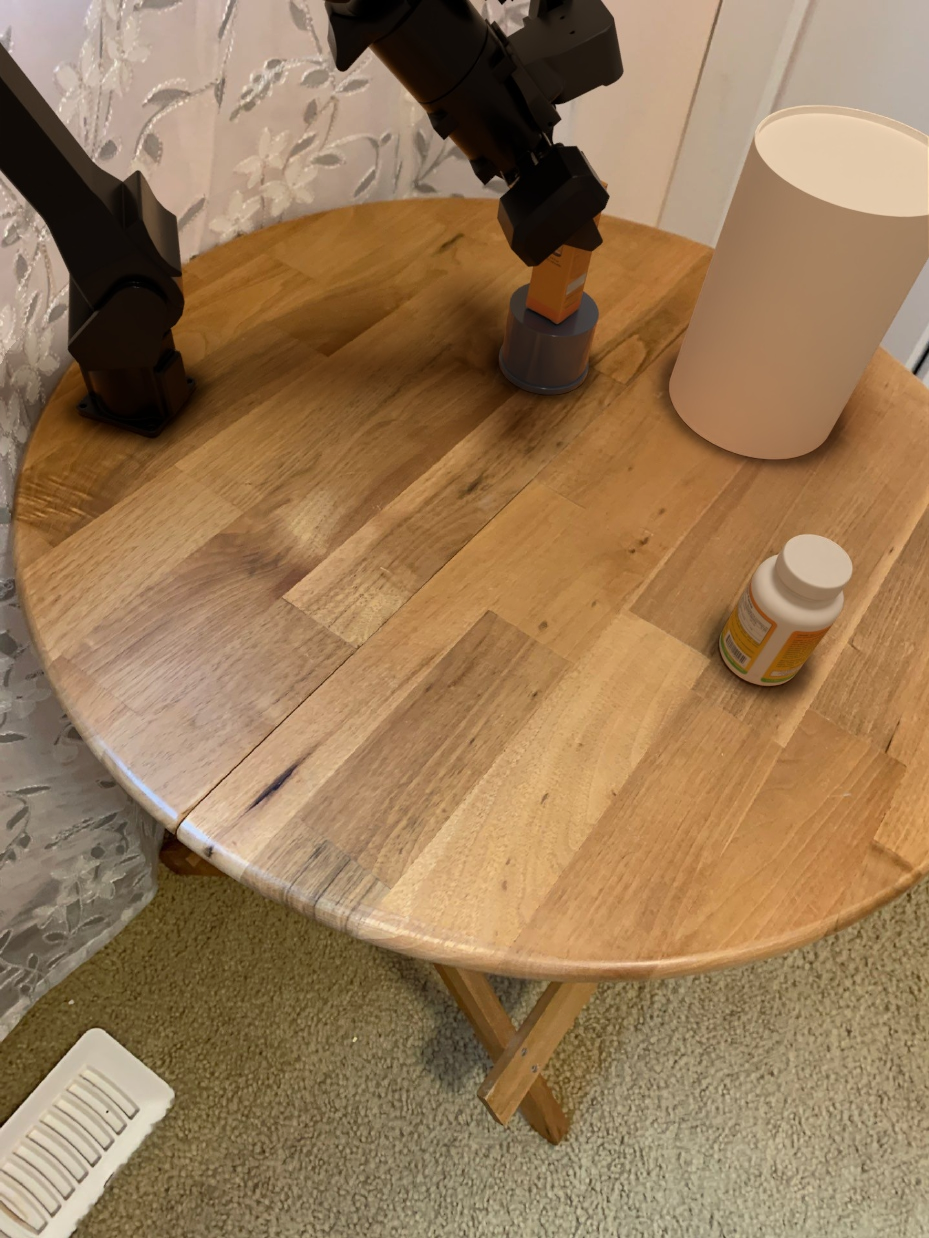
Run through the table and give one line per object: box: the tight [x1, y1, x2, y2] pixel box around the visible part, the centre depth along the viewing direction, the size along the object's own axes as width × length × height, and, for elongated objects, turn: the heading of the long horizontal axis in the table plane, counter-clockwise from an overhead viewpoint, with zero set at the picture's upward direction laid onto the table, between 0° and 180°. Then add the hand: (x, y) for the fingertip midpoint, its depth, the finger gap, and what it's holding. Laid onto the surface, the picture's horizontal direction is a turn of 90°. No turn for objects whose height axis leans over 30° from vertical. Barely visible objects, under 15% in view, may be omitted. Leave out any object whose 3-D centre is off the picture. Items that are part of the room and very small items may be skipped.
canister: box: [668, 104, 929, 460], centre depth 65 cm, size 14×14×20 cm
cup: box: [498, 282, 600, 396], centre depth 71 cm, size 8×7×6 cm
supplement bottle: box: [718, 533, 853, 687], centre depth 54 cm, size 5×5×10 cm
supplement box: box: [526, 180, 609, 324], centre depth 65 cm, size 3×3×10 cm
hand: (586, 227), depth 64 cm, fingers closed on supplement box, 4 cm apart
